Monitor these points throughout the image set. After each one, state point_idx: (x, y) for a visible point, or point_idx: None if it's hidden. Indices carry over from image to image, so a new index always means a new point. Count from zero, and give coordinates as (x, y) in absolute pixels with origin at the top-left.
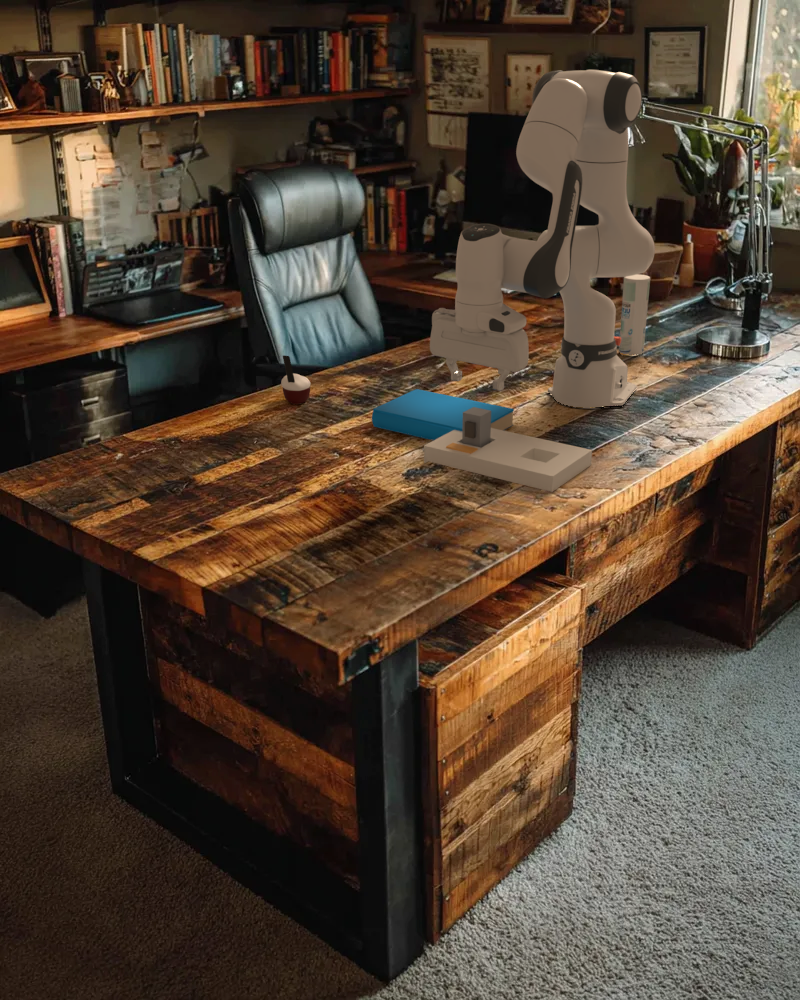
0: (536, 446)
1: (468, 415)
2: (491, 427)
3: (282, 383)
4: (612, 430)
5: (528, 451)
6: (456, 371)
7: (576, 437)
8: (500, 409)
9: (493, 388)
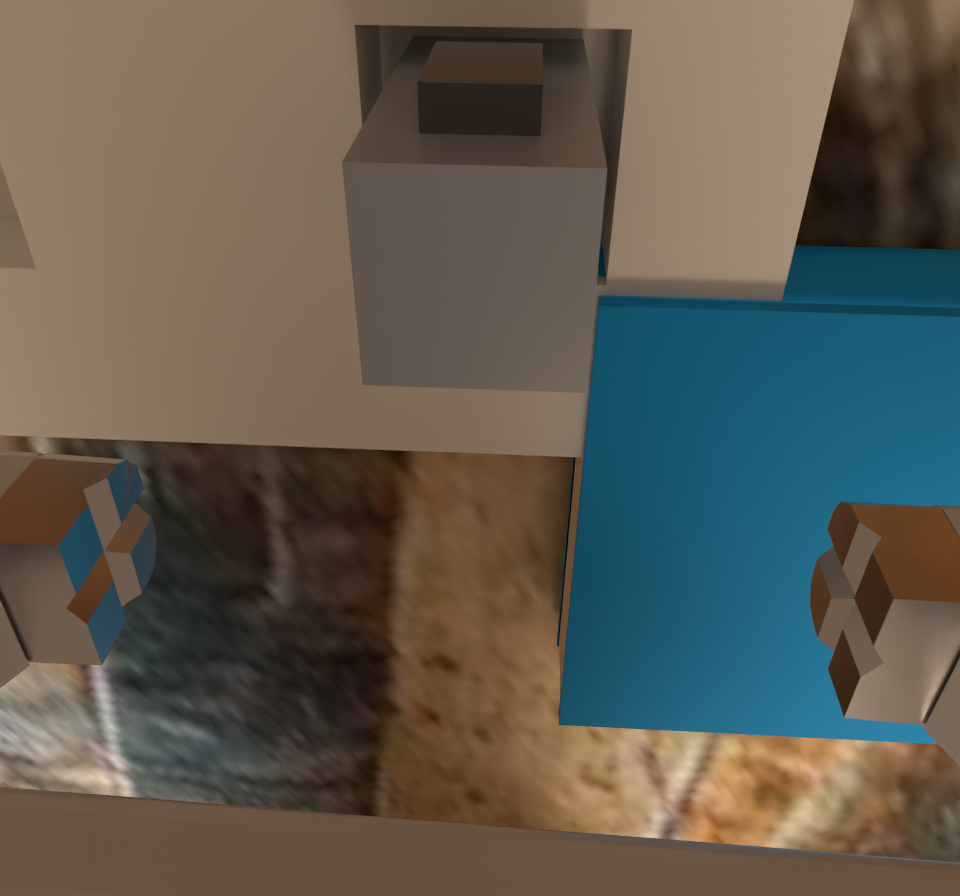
0: (45, 303)
1: (518, 156)
2: (578, 501)
3: None
4: (177, 763)
5: (10, 184)
6: (945, 666)
7: (238, 659)
8: (626, 694)
9: (104, 459)
